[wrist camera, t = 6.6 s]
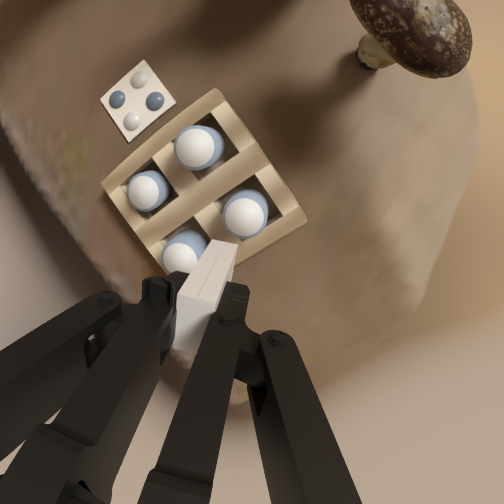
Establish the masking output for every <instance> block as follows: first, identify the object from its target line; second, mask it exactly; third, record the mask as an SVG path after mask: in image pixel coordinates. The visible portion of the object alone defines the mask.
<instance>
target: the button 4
mask: <svg viewBox="0 0 504 504" xmlns="http://www.w3.org/2000/svg"><path fill="white" fill-rule="evenodd" d="M267 217H268V203H267V200H266V198H265V197H264V196H263V195H262V194H261V193H260V192H259V191H257V190H254V189H242V190H239V191H237V192H236V193H235V194H234V195H233V196H232V197H231V198H230V199H229V201H228V202H227V203H226V205H225V206H224V209H223V212H222V221H223V224H224V226H225V228H226V229H227V231H228V232H229V233H230V234H232V235H233V236H235V237H238V238H242V239H248V238H253V237H255V236H257V235H258V234H260V233H261V232H262V231H263V229H264V228H265V226H266V223H267Z"/></svg>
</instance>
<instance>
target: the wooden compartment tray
mask: <svg viewBox="0 0 504 504" xmlns="http://www.w3.org/2000/svg"><path fill="white" fill-rule="evenodd" d="M193 125H200V126H206V127H211V128H214V129H215V130H217V131H218V132H219V133H220V134H221V135H222V137H223V139H224V143H225V150H224V153H223V156H222V157H221V159H220V160H219V161H218V162H217V163H215V164H214V165H211V166H209V167H206V168H204V169H201V170H190V169H187V168H185V167H183V166H182V165H181V164H180V163H179V162H178V161H177V159H176V157H175V155H174V142H175V139H176V137H177V135H178V134H179V133H180V132H181V131H182V130H183V129H185V128H187V127H189V126H193ZM153 169H160V170H161V171H162V172H163V174H164V175H165V177H166V178H167V179H168V181H169V182H170V184H171V185H172V186H173V192H172V195H171V197H170V198H169V199H168V200H167V201H166V202H164V203H163V204H161V205H160V206H158V207H156V208H155V209H153V210H151V211H140V210H137V209H136V208H134V207H133V206H132V204H131V203H130V202H129V199H128V196H127V187H128V183H129V181H130V180H131V179H132V178H133V177H134V176H135V175H137V174H139V173H142V172H146V171H149V170H153ZM101 185H102V186H103V188H104V189H105V191H106V192H107V194H108V195H109V197H110V198H111V199H112V201H113V202H114V204H115V205H116V207H117V208H118V209H119V211H120V212H121V214H122V215H123V217H124V218H125V219H126V221H127V222H128V223H129V225H130V226H131V228H132V229H133V230H134V232H135V233H136V234H137V236H138V237H139V239H140V240H141V241H142V243H143V244H144V245H145V247H146V248H147V249H148V251H149V252H150V253H151V255H152V256H153V257H154V258H155V260H156V261H157V262H158V264H159V265H160V266H161V268H162V269H163V270H164V271H165V273H166V274H167V275H169V274H170V273H169V272H168V271H167V270H166V269H165V268H164V266H163V264H162V260H161V254H162V250H163V248H164V246H165V245H166V244H167V243H168V242H169V241H170V240H171V239H172V238H173V237H174V236H175V235H176V234H177V233H178V232H180V231H182V230H184V229H193V230H196V231H198V232H200V233H201V234H202V235H203V236H204V237H205V239H206V240H207V243H208V245H209V243H210V242H211V240H212V239H214V240H218V241H223V242H228V243H233V244H237V245H238V247H237V253H236V258H235V263H234V266H235V265H237V264H239V263H240V262H242V261H244V260H245V259H247V258H248V257H250V256H252V255H253V254H255V253H257V252H258V251H260V250H262V249H263V248H265V247H267V246H268V245H270V244H271V243H273V242H275V241H276V240H278V239H280V238H281V237H283V236H285V235H286V234H288V233H290V232H291V231H293V230H294V229H296V228H298V227H299V226H301V225H303V224H304V223H306V222H308V221H307V218H306V215H305V213H304V212H303V210H302V208H301V207H300V205H299V204H298V202H297V201H296V199H295V198H294V196H293V195H292V193H291V191H290V190H289V188H288V187H287V185H286V184H285V182H284V181H283V179H282V178H281V176H280V175H279V173H278V172H277V170H276V169H275V167H274V166H273V164H272V163H271V162H270V160H269V159H268V157H267V156H266V154H265V153H264V151H263V150H262V148H261V147H260V146H259V144H258V143H257V141H256V140H255V138H254V137H253V136H252V134H251V133H250V131H249V130H248V129H247V127H246V126H245V124H244V123H243V122H242V120H241V119H240V117H239V116H238V115H237V113H236V112H235V111H234V109H233V108H232V106H231V105H230V104H229V102H228V101H227V100H226V98H225V97H224V96H223V94H222V93H221V92H220V91H219V90H218V89H216V88H214V89H212V90H211V91H210V92H208V93H207V94H205V95H204V96H203V97H201V98H200V99H198V100H197V101H196V102H194V103H193V104H192V105H190V106H189V107H188V108H186V109H185V110H184V111H182V112H181V113H180V114H179V115H177V116H176V117H175V118H173V119H172V120H171V121H170V122H168V123H167V124H166V125H165V126H163V127H162V128H161V129H160V130H159V131H157V132H156V133H155V134H154V135H153V136H151V137H150V138H149V139H148V140H147V141H146V142H144V143H143V144H142V145H141V146H140V147H139V148H138V149H136V150H135V151H134V152H133V153H132V154H131V155H130V156H129V157H128V158H126V159H125V160H124V161H123V162H122V163H121V164H120V165H119V166H118V167H117V168H116V169H115V170H114V171H112V172H111V173H110V174H109V175H108V176H107V177H106V178H105V179H104V180H103V181H102V182H101ZM242 189H254V190H257V191H259V192H260V193H261V194H262V195H263V196H264V197H265V198H266V200H267V203H268V217H267V223H266V226H265V228H264V229H263V231H262V232H261V233H260V234H258V235H257V236H255V237H253V238H248V239H242V238H238V237H235V236H233V235H232V234H230V233H229V232H228V231H227V229H226V228H225V226H224V224H223V221H222V212H223V209H224V206H225V205H226V203H227V202H228V201H229V199H230V198H231V197H232V196H233V195H234V194H235V193H236V192H237V191H239V190H242Z"/></svg>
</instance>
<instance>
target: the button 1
mask: <svg viewBox="0 0 504 504" xmlns="http://www.w3.org/2000/svg"><path fill="white" fill-rule="evenodd" d="M172 192H173V186H172V185H171V184H170V182H169V181H168V179H167V178H166V177H165V175H164V174H163V172H162V171H161V170H160V169H153V170H149V171H146V172H142V173H139V174H137V175H135V176H134V177H133V178H132V179H131V180H130V181H129V183H128V187H127V196H128V199H129V202H130V203H131V204H132V206H133V207H134V208H136V209H137V210H140V211H151V210H153V209H155V208H156V207H158V206H160V205H161V204H163V203H164V202H166V201H167V200H168V199H169V198H170V197H171V195H172Z"/></svg>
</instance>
